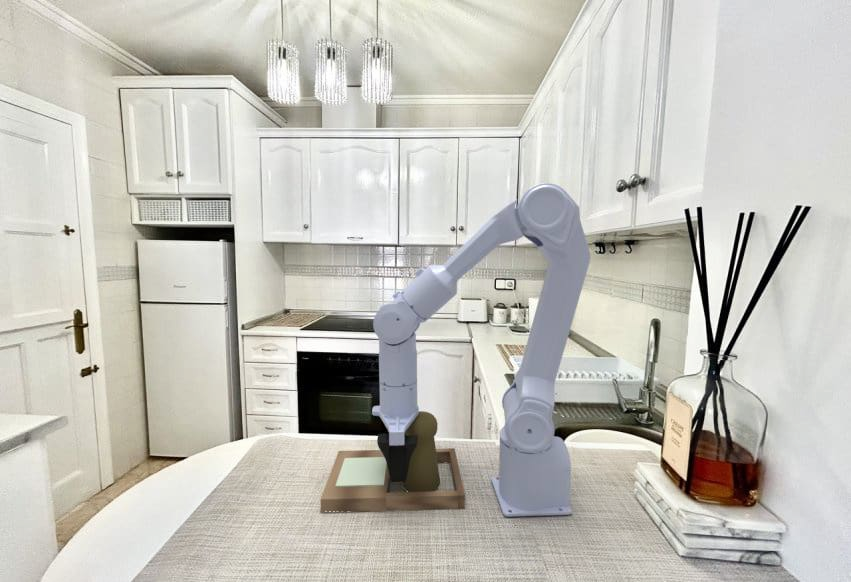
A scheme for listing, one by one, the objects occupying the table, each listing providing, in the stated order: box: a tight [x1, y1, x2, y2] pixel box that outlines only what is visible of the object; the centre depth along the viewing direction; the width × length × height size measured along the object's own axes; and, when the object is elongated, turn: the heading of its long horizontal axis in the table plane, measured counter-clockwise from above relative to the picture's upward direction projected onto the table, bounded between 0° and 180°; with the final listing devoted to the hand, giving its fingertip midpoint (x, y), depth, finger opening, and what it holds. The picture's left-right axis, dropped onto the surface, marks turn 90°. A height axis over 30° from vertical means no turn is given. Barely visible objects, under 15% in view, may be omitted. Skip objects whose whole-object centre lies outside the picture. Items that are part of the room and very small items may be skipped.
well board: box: [319, 447, 466, 513], centre depth 54 cm, size 20×12×2 cm, turn 92°
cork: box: [401, 411, 441, 492], centre depth 54 cm, size 6×6×11 cm
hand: (399, 464), depth 54 cm, fingers open, 7 cm apart
